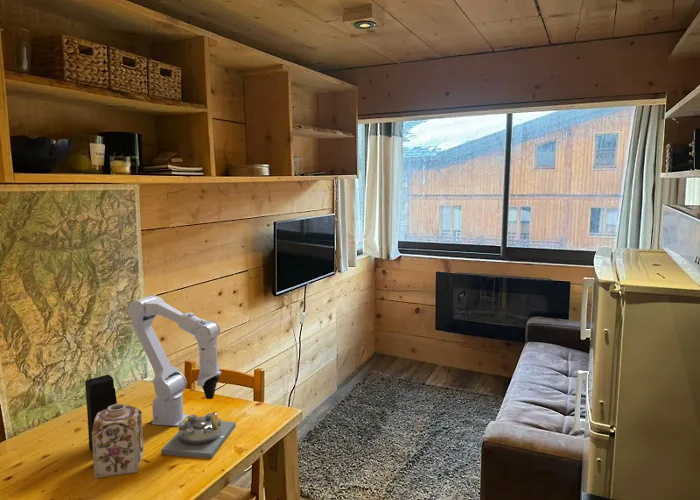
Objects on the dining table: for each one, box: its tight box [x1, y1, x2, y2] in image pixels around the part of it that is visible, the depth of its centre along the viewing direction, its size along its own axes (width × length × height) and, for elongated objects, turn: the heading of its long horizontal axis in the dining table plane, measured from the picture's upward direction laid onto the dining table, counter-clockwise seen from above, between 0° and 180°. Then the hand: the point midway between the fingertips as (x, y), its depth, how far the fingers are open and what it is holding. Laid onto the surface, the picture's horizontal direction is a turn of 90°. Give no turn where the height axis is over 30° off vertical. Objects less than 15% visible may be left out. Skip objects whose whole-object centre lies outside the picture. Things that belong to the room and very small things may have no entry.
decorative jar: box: [91, 403, 144, 479], centre depth 145 cm, size 12×12×18 cm
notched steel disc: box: [178, 411, 222, 445], centre depth 160 cm, size 13×13×8 cm
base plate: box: [160, 420, 236, 459], centre depth 161 cm, size 16×20×2 cm
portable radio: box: [84, 373, 118, 454], centre depth 154 cm, size 8×6×25 cm
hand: (209, 398), depth 168 cm, fingers closed
